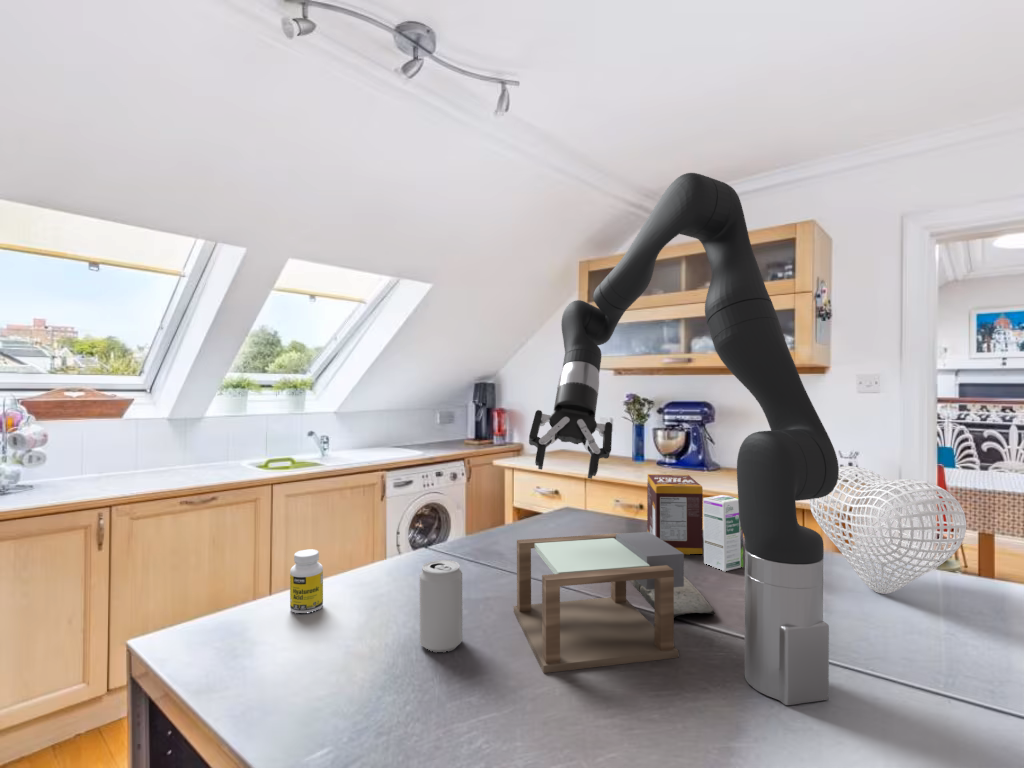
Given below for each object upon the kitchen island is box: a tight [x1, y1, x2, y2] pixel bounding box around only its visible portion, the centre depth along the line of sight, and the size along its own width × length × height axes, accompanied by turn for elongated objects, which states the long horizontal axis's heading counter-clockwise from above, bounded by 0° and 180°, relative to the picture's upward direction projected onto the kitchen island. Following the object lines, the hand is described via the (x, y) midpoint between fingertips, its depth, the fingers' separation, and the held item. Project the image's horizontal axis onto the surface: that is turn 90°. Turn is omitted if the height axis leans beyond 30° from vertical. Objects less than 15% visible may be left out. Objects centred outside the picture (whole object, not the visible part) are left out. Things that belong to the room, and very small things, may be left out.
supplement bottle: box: [289, 548, 324, 614], centre depth 97 cm, size 5×5×10 cm
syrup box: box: [703, 494, 744, 573], centre depth 117 cm, size 6×6×14 cm
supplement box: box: [646, 473, 704, 555], centre depth 132 cm, size 10×15×16 cm
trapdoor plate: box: [534, 531, 685, 590], centre depth 88 cm, size 14×20×5 cm
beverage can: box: [419, 559, 463, 653], centre depth 84 cm, size 6×6×12 cm
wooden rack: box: [513, 532, 680, 674], centre depth 87 cm, size 20×20×12 cm
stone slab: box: [629, 575, 716, 618], centre depth 106 cm, size 10×3×30 cm
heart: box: [808, 465, 967, 595], centre depth 103 cm, size 28×16×22 cm, turn 8°
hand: (565, 472), depth 94 cm, fingers open, 8 cm apart
